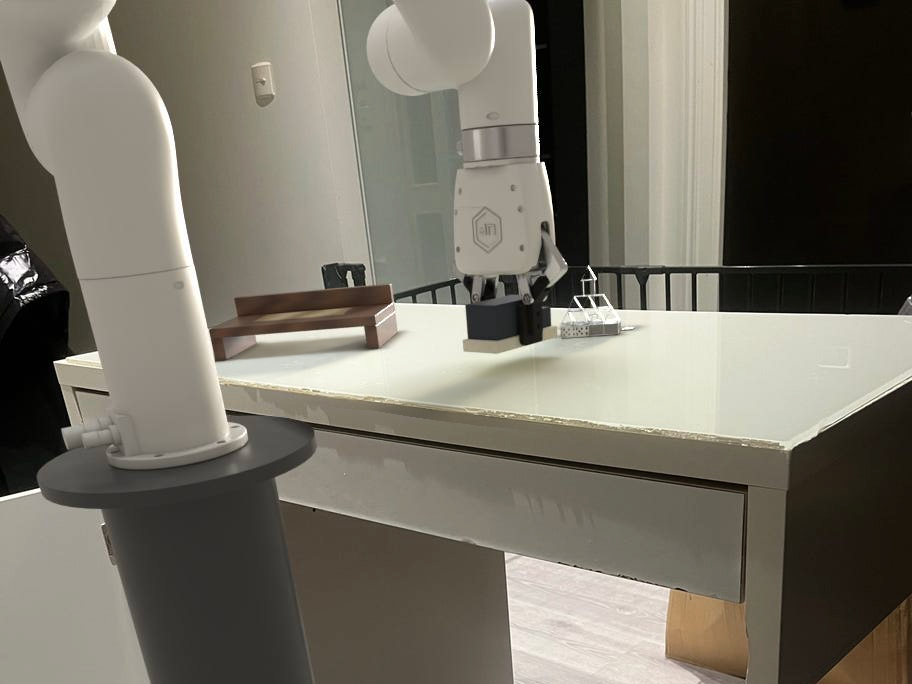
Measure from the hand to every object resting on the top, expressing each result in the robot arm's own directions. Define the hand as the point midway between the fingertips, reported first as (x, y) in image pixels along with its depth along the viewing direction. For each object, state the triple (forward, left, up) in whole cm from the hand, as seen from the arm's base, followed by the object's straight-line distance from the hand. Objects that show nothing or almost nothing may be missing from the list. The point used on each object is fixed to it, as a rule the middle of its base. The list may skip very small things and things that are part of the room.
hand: (511, 340), depth 101 cm
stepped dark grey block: (0, 0, 0) cm, 0 cm away
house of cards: (+19, +10, -3) cm, 21 cm away
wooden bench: (-9, +37, -3) cm, 38 cm away
